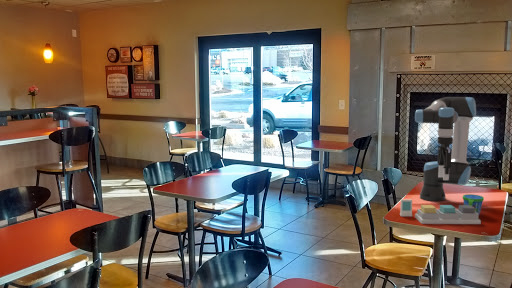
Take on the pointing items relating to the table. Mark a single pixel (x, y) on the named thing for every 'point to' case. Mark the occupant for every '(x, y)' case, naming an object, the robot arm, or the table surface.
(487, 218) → the table surface
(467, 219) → the board
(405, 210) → the sign
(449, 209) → the teal button
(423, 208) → the mustard button
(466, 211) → the charcoal button
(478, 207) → the snack cup
